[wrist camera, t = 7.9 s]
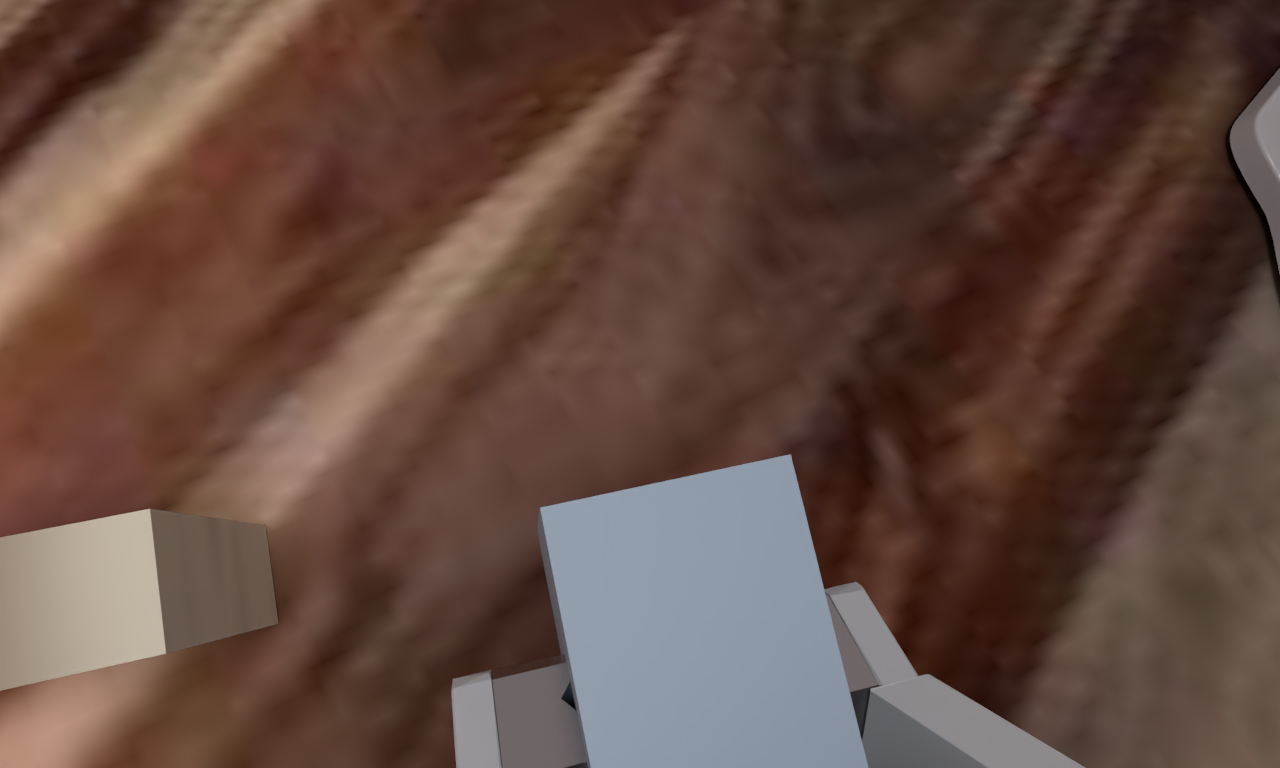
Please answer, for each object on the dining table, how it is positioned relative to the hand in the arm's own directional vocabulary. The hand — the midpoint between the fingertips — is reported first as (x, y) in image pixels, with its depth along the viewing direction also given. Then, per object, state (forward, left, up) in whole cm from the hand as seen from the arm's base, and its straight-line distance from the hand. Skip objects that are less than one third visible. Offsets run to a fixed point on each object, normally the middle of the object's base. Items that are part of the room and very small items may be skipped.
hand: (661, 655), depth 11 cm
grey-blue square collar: (0, +1, -5) cm, 5 cm away
